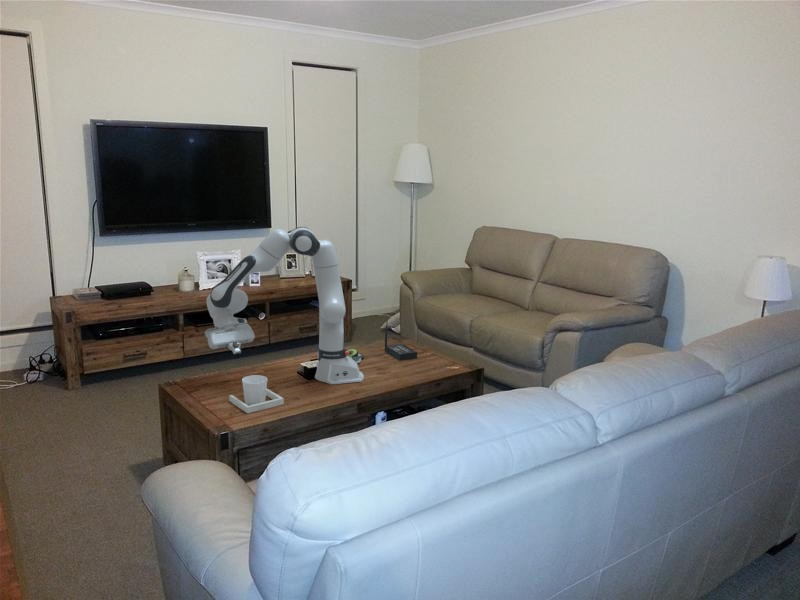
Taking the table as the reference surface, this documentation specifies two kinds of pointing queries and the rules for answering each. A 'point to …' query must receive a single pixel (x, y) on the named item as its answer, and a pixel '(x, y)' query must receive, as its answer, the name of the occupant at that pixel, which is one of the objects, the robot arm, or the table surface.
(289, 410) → the table surface
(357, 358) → the salad plate
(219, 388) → the table surface
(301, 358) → the table surface
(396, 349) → the wifi router
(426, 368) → the table surface
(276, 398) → the white u-shaped frame
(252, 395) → the cup
